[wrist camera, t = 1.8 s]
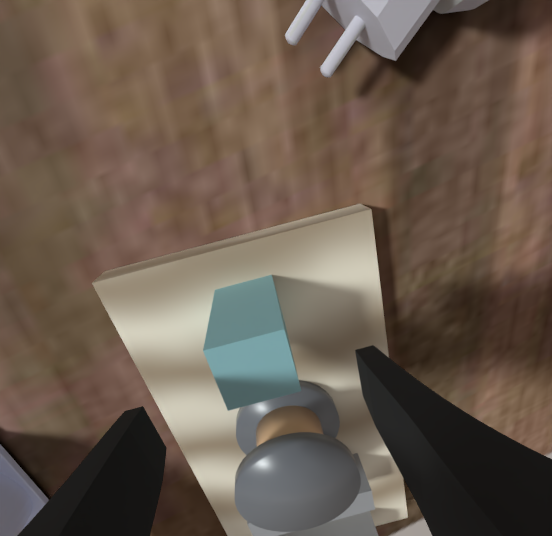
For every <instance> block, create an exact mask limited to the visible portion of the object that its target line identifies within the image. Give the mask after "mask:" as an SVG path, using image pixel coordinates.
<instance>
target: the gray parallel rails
mask: <svg viewBox="0 0 552 536" xmlns="http://www.w3.org/2000/svg"><path fill="white" fill-rule="evenodd" d="M353 457H354V459H355V462H356V465H357V468H358V470H359V474H360V478H361V485H360V490H359V493H358V495H357V497H356V499H355V500H354V502H353V503H352V504H351V505H350V507H349V508H348V509H347V510H345V511H344V512H343V513H342V514H341V515H339V516H338V517H336V518H335V519H333V520H331V521H329V522H327V523H325V524H323V525H320V526H317V527H314V528H311V529H307V530H302V531H294V532H278V531H270V530H266V529H262V528H259V527H257V526H255V525H253V524H251V523H249V522H248V521H247V525H248V527H249V529H250V531H251V533H252V535H253V536H378V533H377V530H376V527H375V525H374V522H373V519H372V516H371V513H370V511H371V510H375V506H374V501H373V495H372V490H371V488H370V485H369V482H368V480H367V477H366V474H365V472H364V469H363V466H362V464H361V461H360V458H359V456H358V453H355V454H353Z"/></svg>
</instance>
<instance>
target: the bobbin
mask: <svg viewBox="0 0 552 536" xmlns="http://www.w3.org/2000/svg"><path fill="white" fill-rule="evenodd" d="M299 383H300V387H301V391H300V392H296V393H293V394H289V395H285V396H281V397H278V398H274V399H270V400H266V401H263V402H259V403H255V404H251V405H248V406H244V407H240V409H239V411H238V414H237V418H236V439H237V442H238V445H239V447H240V449H241V450H242V451H243V452H244V453H245V454H246V457H245V458H244V459H243V460H242V462H241V463H240V465H239V467H238V469H237V471H236V475H235V497H234V499H235V505H236V508H237V510H238V512H239V513H240V515H241V516H242V517H243V518H244V519H245V520H247V521H248V522H249V523H251V524H253V525H255V526H257V527H259V528H262V529H266V530H270V531H278V532H294V531H302V530H307V529H311V528H314V527H317V526H320V525H323V524H325V523H327V522H329V521H331V520H333V519H335V518H336V517H338V516H339V515H341V514H342V513H343V512H344V511H345V510H347V509H348V508H349V507H350V505H351V504H352V503H353V502H354V500H355V499H356V497H357V495H358V493H359V490H360V485H361V478H360V474H359V470H358V468H357V465H356V462H355V459H354V457H353V454H352V453H351V451H350V450H349V448H348V447H347V446H346V445H345V444H343V443H342V442H341V441H339V440H338V439H336V437H337V434H338V431H339V427H340V420H339V415H338V412H337V409H336V406H335V404H334V401H333V399H332V397H331V396H330V395H329V394H328V393H327V392H326V391H325V390H324V389H323V388H321V387H320V386H318V385H316V384H313V383H311V382H307V381H303V380H299Z"/></svg>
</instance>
